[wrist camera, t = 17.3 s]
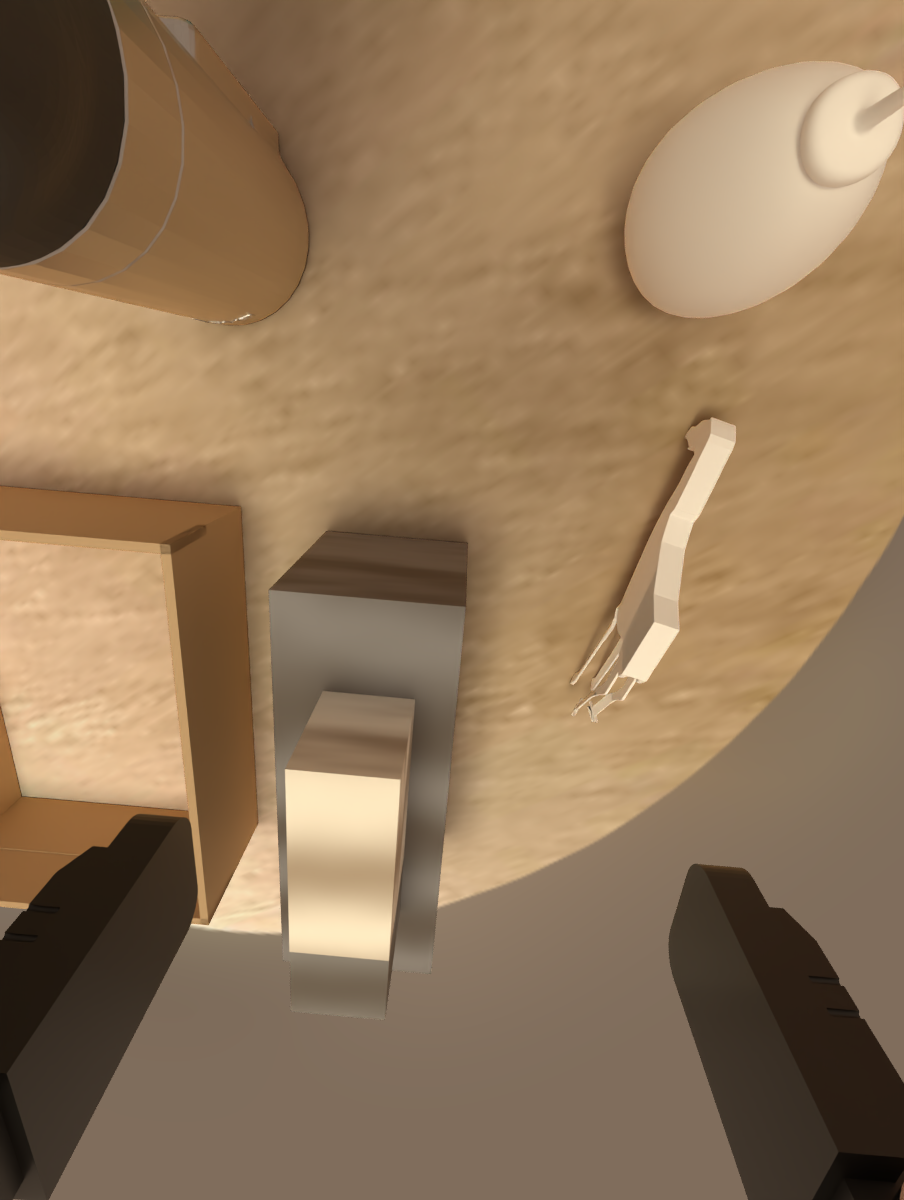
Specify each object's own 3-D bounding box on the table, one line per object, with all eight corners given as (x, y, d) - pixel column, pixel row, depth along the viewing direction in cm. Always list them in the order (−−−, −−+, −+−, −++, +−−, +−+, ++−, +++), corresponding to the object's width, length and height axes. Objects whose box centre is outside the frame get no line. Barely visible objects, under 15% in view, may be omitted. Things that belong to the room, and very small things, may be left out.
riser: (326, 531, 36) (268, 589, 26) (467, 543, 36) (465, 607, 26) (326, 828, 45) (282, 961, 34) (440, 838, 45) (431, 974, 34)
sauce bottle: (590, 182, 29) (751, -91, 12) (748, 137, 28) (1152, -224, 11) (611, 344, 32) (767, 302, 15) (756, 308, 31) (1093, 219, 14)
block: (322, 690, 28) (285, 769, 22) (415, 699, 28) (400, 779, 22) (321, 903, 33) (291, 1011, 27) (400, 910, 33) (384, 1020, 27)
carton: (-70, 480, 36) (-235, 509, 27) (240, 506, 36) (169, 544, 27) (10, 801, 45) (-96, 898, 36) (258, 823, 45) (208, 925, 36)
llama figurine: (591, 619, 45) (732, 412, 32) (595, 743, 36) (786, 527, 24) (569, 612, 44) (702, 401, 32) (568, 735, 36) (747, 513, 24)
